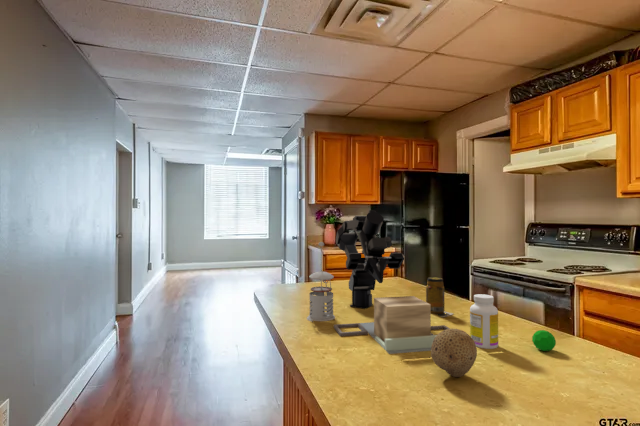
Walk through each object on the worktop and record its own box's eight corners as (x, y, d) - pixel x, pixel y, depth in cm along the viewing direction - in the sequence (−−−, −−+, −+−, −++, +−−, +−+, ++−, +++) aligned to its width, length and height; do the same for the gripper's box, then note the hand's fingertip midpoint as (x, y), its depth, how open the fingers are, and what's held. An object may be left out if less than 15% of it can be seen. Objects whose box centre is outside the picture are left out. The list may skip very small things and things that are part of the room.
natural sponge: (452, 390, 70) (451, 338, 70) (421, 371, 79) (421, 325, 79) (486, 381, 74) (486, 332, 74) (454, 364, 82) (454, 320, 82)
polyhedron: (527, 348, 92) (527, 329, 92) (540, 345, 94) (541, 327, 94) (546, 355, 88) (546, 335, 88) (560, 352, 90) (560, 332, 90)
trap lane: (331, 326, 111) (331, 316, 111) (429, 320, 117) (429, 310, 117) (355, 358, 86) (355, 345, 86) (476, 348, 92) (476, 336, 92)
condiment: (432, 309, 130) (432, 275, 130) (454, 314, 124) (454, 279, 124) (420, 312, 126) (420, 278, 126) (442, 318, 119) (442, 281, 119)
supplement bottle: (496, 342, 96) (496, 294, 96) (500, 351, 90) (499, 299, 90) (469, 339, 98) (469, 292, 99) (470, 348, 92) (470, 297, 92)
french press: (301, 320, 117) (301, 242, 117) (315, 311, 127) (315, 240, 127) (330, 324, 113) (330, 243, 113) (342, 314, 124) (342, 240, 124)
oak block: (374, 333, 103) (374, 297, 103) (413, 330, 105) (413, 296, 105) (387, 345, 93) (387, 306, 93) (430, 342, 95) (430, 304, 95)
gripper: (348, 228, 118) (358, 267, 107) (402, 228, 122) (417, 266, 111) (341, 249, 125) (350, 288, 115) (392, 249, 129) (405, 287, 119)
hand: (381, 282), depth 114 cm, fingers closed
